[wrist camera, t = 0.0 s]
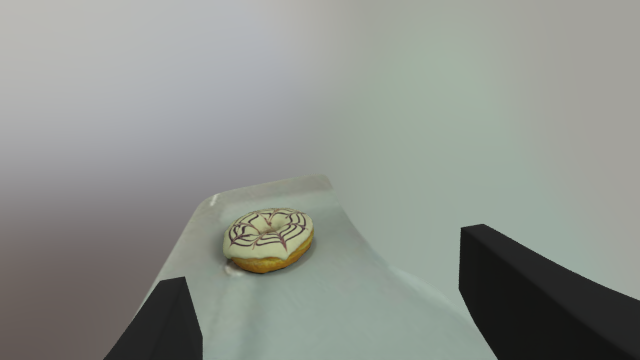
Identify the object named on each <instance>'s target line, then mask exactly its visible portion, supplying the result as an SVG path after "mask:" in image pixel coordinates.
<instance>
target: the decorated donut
mask: <svg viewBox="0 0 640 360" xmlns="http://www.w3.org/2000/svg"><path fill="white" fill-rule="evenodd" d="M313 234H314V228H313V225H312V220H311V218H310V217H308V216H307V215H306V214H305V213H303V212H300V211H298V210H294V209H289V208H280V209H277V208H271V209H263V210H258V211H254V212H250V213H248V214H246V215H244V216H242V217H241V218H239V219H237V220H235V221H234V222H233V223H232V224H231V225H230V226H229V228H228V229H227V231H226V232H225V234H224V242H223V253H224V255H225V256H226V257H227V258H228V259H232V261H233V262H234V263H235V264H236V265H238V266H239V267H241V268H242V269H244V270H248V271H252V272H255V273H257V272H259V273H266V272H268V271H274V270H278V269H280V268H284V267H287V266H289V265H290V264H292V263H294V262H296V261H297V260H298V258H300V256H302V255H303V254H304V253H305V252H306V251H307V250H308V249H309V247H310V245H311V242H312V237H313Z"/></svg>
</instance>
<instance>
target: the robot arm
mask: <svg viewBox="0 0 640 360" xmlns="http://www.w3.org/2000/svg"><path fill="white" fill-rule="evenodd" d="M459 291H460V293H461V295H462V297H463V299H464V302H465V304H466V306H467V308H468V310H469V312H470V314H471V317H472V319H473V321H474V322H475V324H476V326H477V327H478V329H479V331H480V332H481V334H482V335H483V337H484V338H485V340H486V342H487V343H488V345H489V346H490V348H491V349H492V351H493V353H494V354H495V356H496V357H497V359H498V360H640V301H639V300H637V299H634V298H632V297H629V296H627V295H624V294H622V293H619V292H617V291H614V290H612V289H609V288H607V287H605V286H602V285H600V284H598V283H595V282H593V281H591V280H589V279H587V278H585V277H582V276H581V275H579V274H577V273H574V272H572V271H570V270H568V269H566V268H564V267H562V266H560V265H558V264H556V263H555V262H553V261H551V260H549V259H547V258H545V257H543V256H541V255H539V254H538V253H536V252H534V251H532V250H530V249H528V248H527V247H525V246H523V245H521V244H519V243H518V242H516V241H514V240H512V239H511V238H509V237H507V236H505V235H503V234H501V233H500V232H498V231H496V230H494V229H493V228H490V227H489V226H487V225H485V224H479V225H474V226H468V227H462V228H461V238H460V265H459ZM103 360H203V337H202V333H201V330H200V326H199V323H198V320H197V316H196V313H195V309H194V306H193V303H192V299H191V296H190V293H189V289H188V286H187V282H186V279H185V277H179V278H173V279H168V280H162V281H160V282H159V283H158V284H157V286H156V287H155V289H154V290H153V291H152V293H151V294H150V296H149V297H148V299H147V300H146V302H145V303H144V305H143V306H142V308H141V309H140V310H139V312H138V313H137V315H136V316H135V318H134V319H133V321H132V322H131V323H130V325H129V326H128V327H127V329H126V330H125V332H124V333H123V334H122V336H121V337H120V338H119V340H118V341H117V343H116V344H115V346H114V347H113V348H112V349H111V351H110V352H109V353H108V354H107V356H106V357H105V358H104V359H103Z"/></svg>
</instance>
